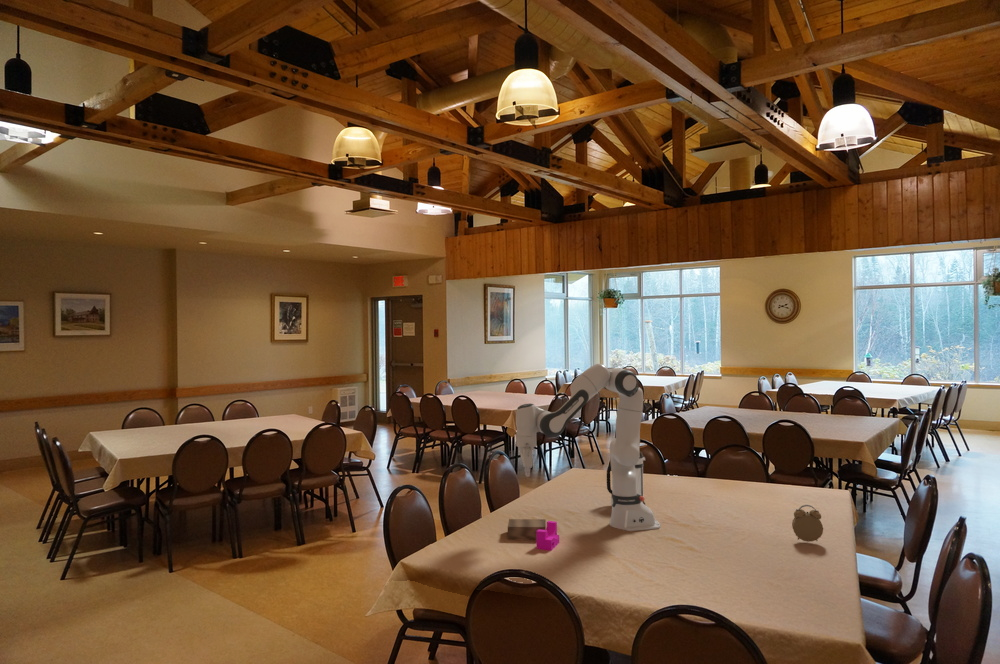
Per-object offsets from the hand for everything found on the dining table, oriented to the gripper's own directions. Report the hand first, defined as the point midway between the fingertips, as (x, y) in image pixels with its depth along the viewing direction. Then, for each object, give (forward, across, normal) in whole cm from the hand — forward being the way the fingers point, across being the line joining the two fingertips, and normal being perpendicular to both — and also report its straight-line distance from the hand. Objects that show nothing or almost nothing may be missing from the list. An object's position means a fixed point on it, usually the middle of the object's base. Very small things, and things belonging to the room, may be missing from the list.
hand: (526, 473), depth 267 cm
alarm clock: (+27, -15, -114) cm, 119 cm away
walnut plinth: (+27, 0, 0) cm, 27 cm away
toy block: (+27, -10, -8) cm, 30 cm away
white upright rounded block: (+27, +47, -55) cm, 78 cm away
